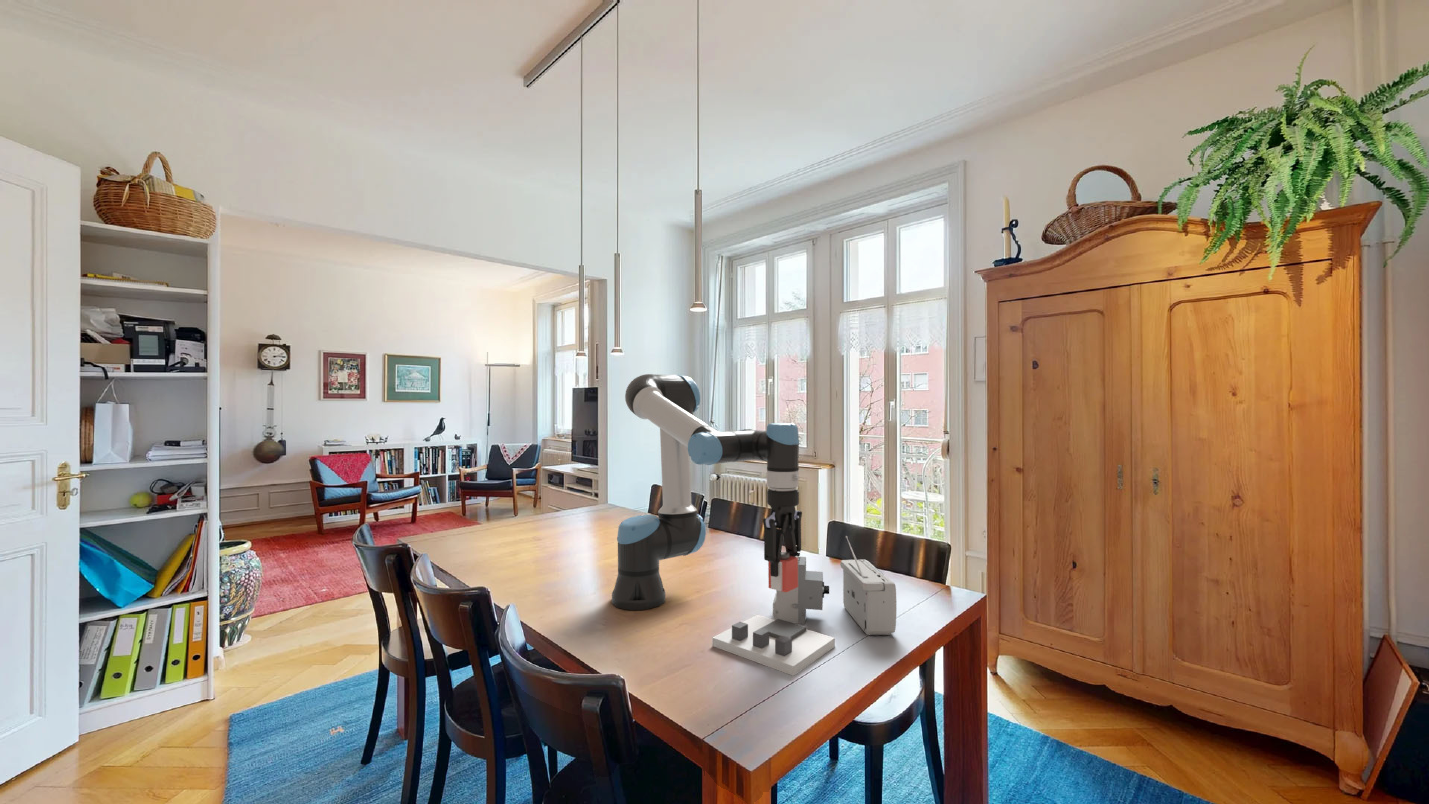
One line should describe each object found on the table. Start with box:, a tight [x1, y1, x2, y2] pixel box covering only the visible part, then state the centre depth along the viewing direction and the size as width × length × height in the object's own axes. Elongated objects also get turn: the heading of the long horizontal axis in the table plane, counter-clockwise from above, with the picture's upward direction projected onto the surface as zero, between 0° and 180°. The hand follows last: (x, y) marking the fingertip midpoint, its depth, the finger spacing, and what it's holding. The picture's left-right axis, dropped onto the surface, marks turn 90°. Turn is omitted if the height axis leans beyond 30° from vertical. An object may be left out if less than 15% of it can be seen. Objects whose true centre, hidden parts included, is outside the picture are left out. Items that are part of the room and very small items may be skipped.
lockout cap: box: [767, 551, 798, 592], centre depth 134 cm, size 5×5×8 cm
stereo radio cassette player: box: [840, 535, 897, 636], centre depth 146 cm, size 21×8×20 cm, turn 4°
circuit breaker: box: [772, 556, 830, 624], centre depth 148 cm, size 8×14×15 cm, turn 78°
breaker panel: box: [711, 614, 836, 676], centre depth 131 cm, size 22×18×5 cm
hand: (783, 586), depth 134 cm, fingers closed on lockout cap, 5 cm apart
